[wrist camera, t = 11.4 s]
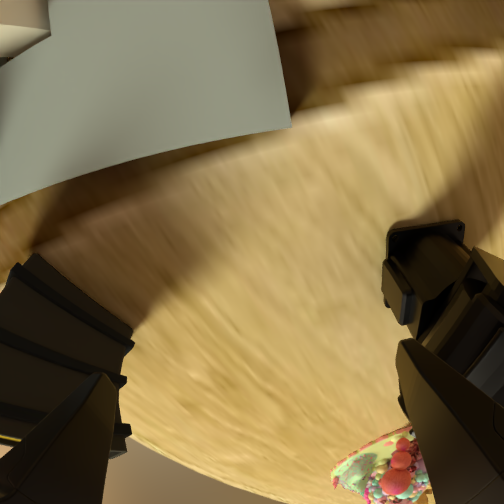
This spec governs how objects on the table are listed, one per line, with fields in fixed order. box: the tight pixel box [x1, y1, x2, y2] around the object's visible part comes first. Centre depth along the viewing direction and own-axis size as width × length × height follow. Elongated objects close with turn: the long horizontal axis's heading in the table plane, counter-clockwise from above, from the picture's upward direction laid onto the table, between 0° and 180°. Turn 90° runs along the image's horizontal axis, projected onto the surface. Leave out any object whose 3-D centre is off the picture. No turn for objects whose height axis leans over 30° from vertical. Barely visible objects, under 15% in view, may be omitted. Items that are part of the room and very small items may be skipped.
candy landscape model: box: [330, 426, 432, 504], centre depth 36 cm, size 25×24×9 cm
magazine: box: [0, 253, 135, 459], centre depth 19 cm, size 4×13×15 cm, turn 46°
